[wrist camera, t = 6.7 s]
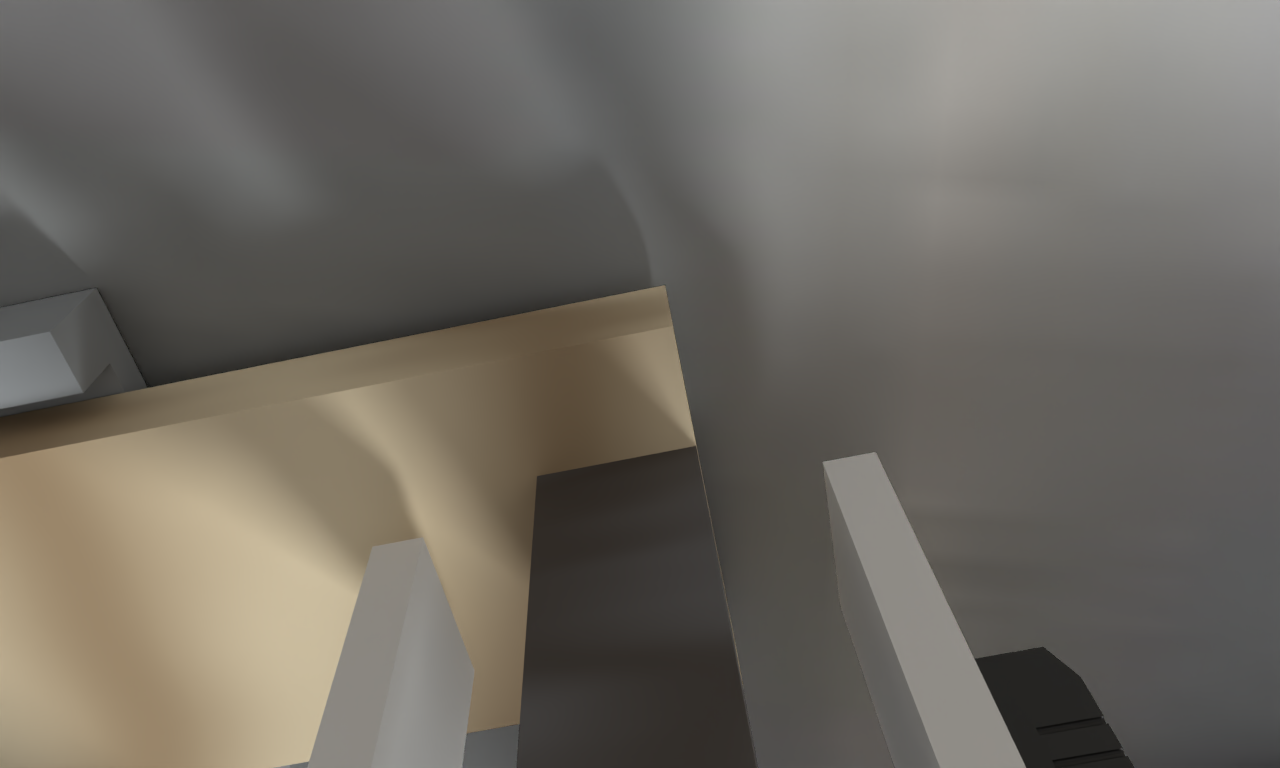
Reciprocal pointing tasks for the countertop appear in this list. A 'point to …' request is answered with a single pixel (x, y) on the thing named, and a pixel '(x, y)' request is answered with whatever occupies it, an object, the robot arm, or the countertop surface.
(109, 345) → the lane board
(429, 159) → the countertop surface
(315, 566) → the strip
